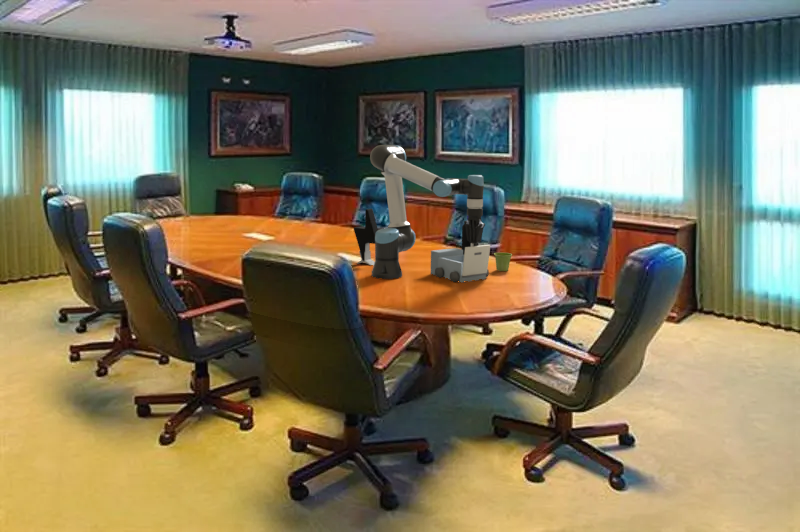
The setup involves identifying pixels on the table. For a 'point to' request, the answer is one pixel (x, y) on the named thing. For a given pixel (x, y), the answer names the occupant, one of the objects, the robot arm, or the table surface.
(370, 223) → the award
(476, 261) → the tailgate
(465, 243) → the bottle
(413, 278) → the table surface
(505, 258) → the plant pot
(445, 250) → the truck bed
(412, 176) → the robot arm
